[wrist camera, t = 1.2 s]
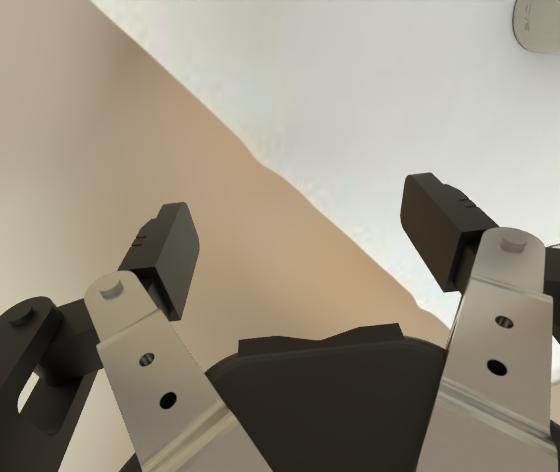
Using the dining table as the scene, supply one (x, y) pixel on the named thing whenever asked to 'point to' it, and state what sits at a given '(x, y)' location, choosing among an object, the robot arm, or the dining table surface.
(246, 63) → the dining table surface
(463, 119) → the dining table surface
